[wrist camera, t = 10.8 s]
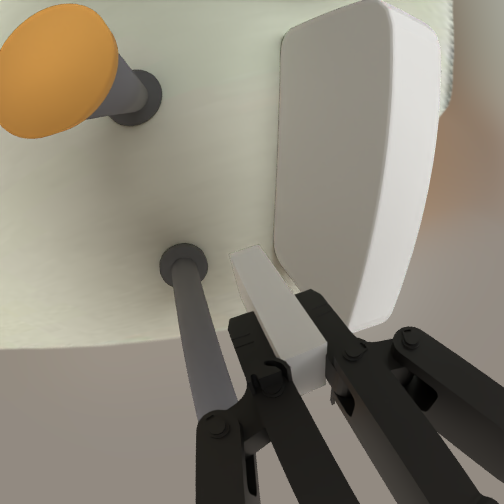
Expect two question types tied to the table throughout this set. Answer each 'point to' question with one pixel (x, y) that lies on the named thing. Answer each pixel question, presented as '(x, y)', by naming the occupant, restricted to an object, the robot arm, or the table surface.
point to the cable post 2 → (197, 329)
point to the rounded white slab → (355, 154)
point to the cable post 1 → (69, 75)
